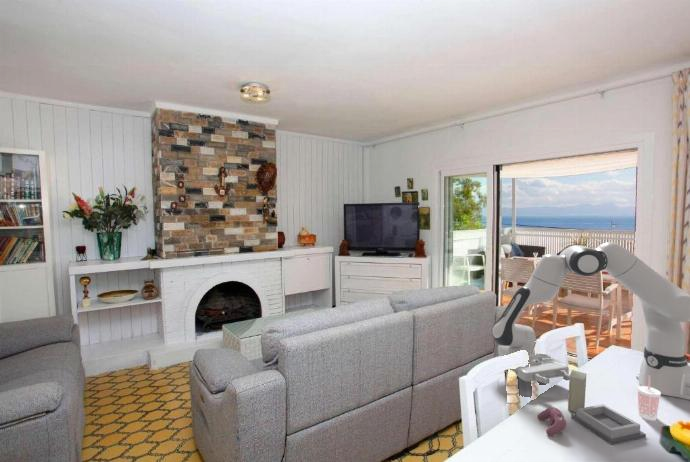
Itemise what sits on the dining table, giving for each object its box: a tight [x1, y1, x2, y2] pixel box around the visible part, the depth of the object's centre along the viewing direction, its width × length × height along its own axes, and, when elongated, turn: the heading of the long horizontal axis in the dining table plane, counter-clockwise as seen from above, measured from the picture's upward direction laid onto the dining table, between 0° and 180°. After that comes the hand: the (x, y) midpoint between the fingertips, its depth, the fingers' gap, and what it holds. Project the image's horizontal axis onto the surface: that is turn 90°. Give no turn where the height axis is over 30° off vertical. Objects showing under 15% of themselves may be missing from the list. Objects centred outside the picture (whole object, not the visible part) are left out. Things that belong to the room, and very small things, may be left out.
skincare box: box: [567, 369, 587, 414], centre depth 126 cm, size 6×4×12 cm
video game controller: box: [536, 406, 567, 437], centre depth 115 cm, size 10×5×7 cm, turn 169°
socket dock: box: [570, 403, 647, 445], centre depth 115 cm, size 13×14×4 cm
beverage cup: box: [636, 375, 662, 421], centre depth 121 cm, size 6×6×14 cm
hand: (558, 380), depth 133 cm, fingers open, 8 cm apart
